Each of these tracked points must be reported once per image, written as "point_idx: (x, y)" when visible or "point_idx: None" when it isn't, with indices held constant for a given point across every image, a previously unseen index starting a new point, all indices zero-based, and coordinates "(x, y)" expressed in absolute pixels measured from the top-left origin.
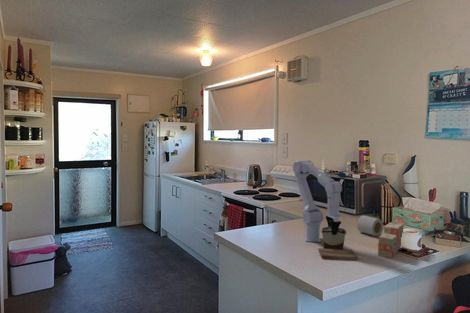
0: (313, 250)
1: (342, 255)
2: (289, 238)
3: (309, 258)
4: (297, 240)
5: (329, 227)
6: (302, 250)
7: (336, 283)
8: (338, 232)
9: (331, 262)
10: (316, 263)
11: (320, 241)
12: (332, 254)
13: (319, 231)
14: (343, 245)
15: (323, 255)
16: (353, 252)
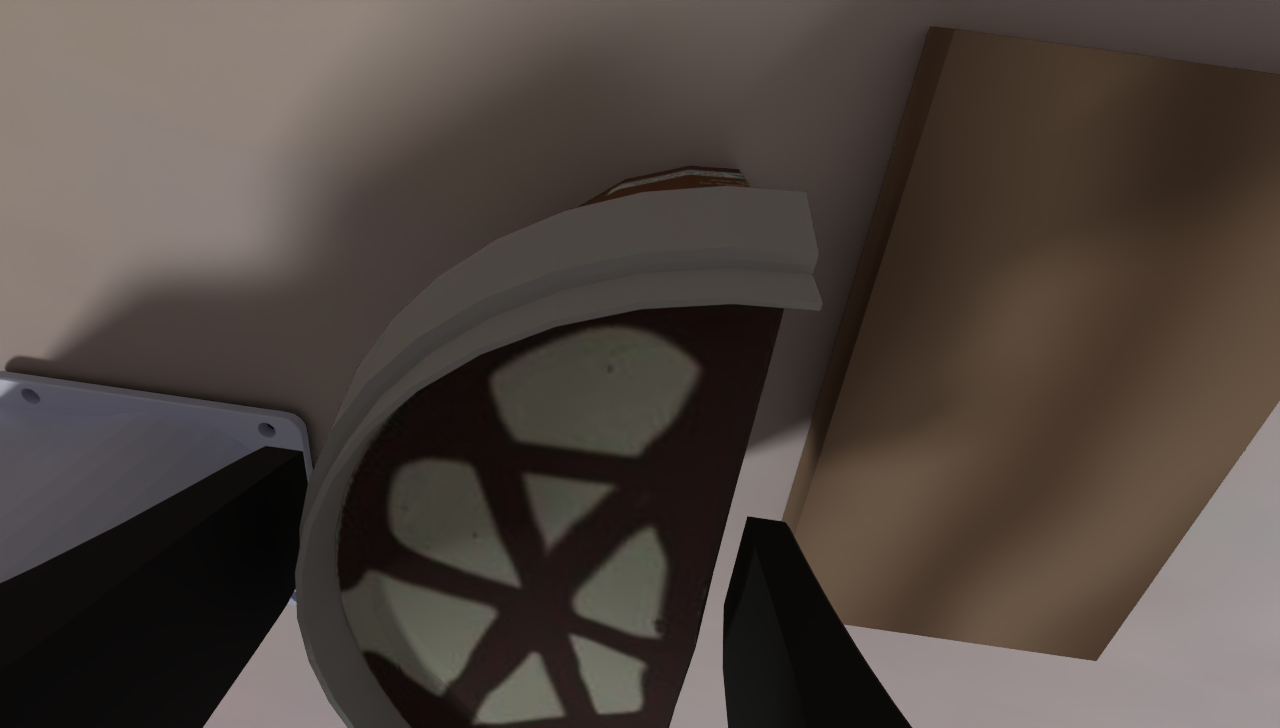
0: (717, 614)
1: (1235, 395)
2: (234, 716)
3: (1006, 725)
4: (296, 665)
5: (331, 657)
6: (707, 713)
7: None
8: (730, 491)
9: (1258, 561)
10: (1199, 711)
11: (301, 429)
12: (1112, 527)
13: (76, 526)
14: (748, 186)
15: (1100, 645)
16: (1166, 81)
